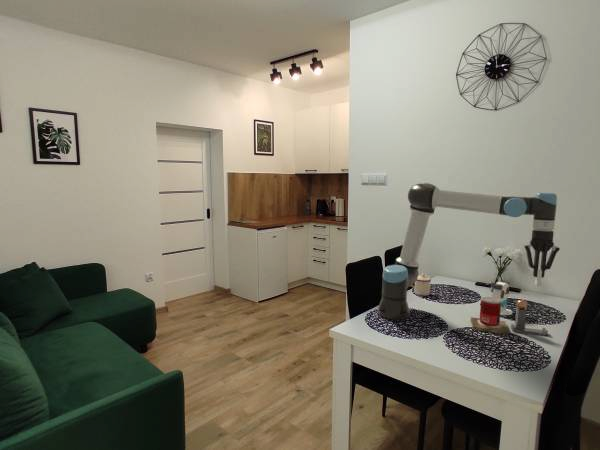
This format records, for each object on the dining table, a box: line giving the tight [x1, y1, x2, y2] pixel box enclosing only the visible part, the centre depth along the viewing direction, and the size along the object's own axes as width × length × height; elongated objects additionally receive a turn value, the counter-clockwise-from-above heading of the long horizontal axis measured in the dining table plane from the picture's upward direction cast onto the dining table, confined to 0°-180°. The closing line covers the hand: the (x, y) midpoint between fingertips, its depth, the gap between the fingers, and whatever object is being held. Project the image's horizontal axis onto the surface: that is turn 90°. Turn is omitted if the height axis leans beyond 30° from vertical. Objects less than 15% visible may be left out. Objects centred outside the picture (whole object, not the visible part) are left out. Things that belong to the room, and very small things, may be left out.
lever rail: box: [510, 323, 549, 337], centre depth 160 cm, size 13×4×2 cm, turn 71°
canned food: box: [479, 296, 501, 326], centre depth 165 cm, size 8×8×11 cm
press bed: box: [470, 316, 511, 335], centre depth 165 cm, size 14×12×2 cm
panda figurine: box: [492, 279, 513, 316], centre depth 185 cm, size 12×11×15 cm
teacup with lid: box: [410, 273, 432, 296], centre depth 215 cm, size 12×9×12 cm
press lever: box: [514, 299, 528, 330], centre depth 161 cm, size 4×4×13 cm
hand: (537, 284), depth 157 cm, fingers closed
